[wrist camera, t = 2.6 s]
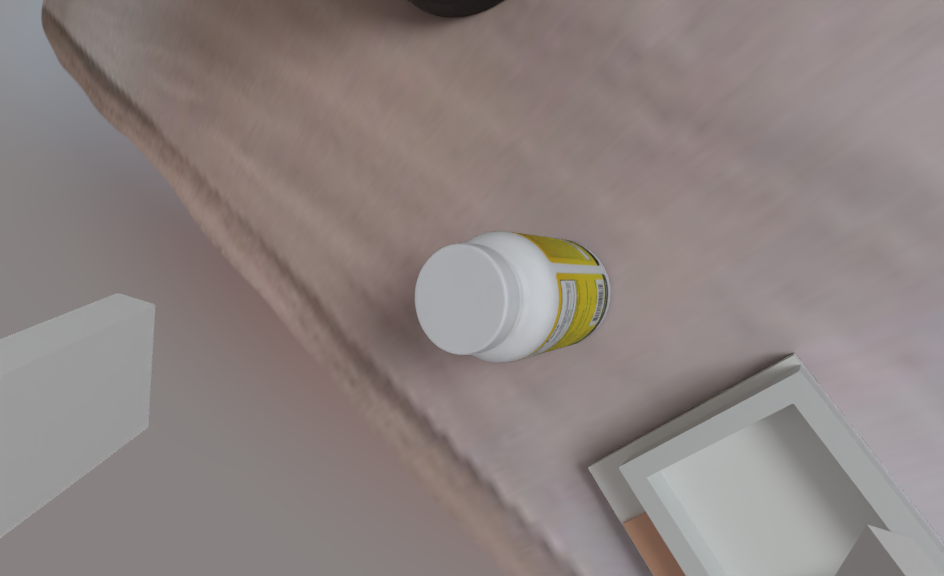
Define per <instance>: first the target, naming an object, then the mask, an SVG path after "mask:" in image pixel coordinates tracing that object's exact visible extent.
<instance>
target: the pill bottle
mask: <svg viewBox="0 0 944 576" xmlns="http://www.w3.org/2000/svg"><path fill="white" fill-rule="evenodd" d="M610 295H611V293H610V283H609V278H608V275H607V272H606V270H605V268H604V266H603V264H602V263H601V261H600V260H599V259H598V258H597V256H596V255H595V254H594V253H593V252H591V251H590V250H589V249H588V248H586V247H584V246H583V245H581V244H578V243H576V242H572V241H568V240H563V239H556V238H549V237H541V236H534V235H527V234H521V233H514V232H506V231H494V232H487V233H483V234H480V235H477V236H474V237H472V238H470V239H469V240H467V241H466V242H464V243H461V244H453V245H448V246H446V247H443V248H441V249H440V250H438V251H436V252H435V253H434V254H433V255H432V256H430V258H429V259H428V260H427V261H426V263H425V264H424V265H423V267H422V269H421V271H420V273H419V276H418V279H417V282H416V287H415V308H416V313H417V317H418V320H419V323H420V325H421V327H422V329H423V331H424V332H425V334H426V335H427V337H428V338H429V339H430V340H431V341H432V342H433V343H434V344H435V345H436V346H437V347H439V348H440V349H442V350H444V351H446V352H449V353H452V354H456V355H469V354H470V355H472V356H473V357H475V358H478V359H480V360H483V361H487V362H494V363H504V362H513V361H517V360H520V359H524V358H527V357H530V356H534V355H538V354H541V353H545V352H548V351H552V350H555V349H558V348H562V347H565V346H569V345H572V344H576V343H578V342H580V341H582V340H584V339H586V338H587V337H589V336H590V335H591V334H593V333H594V332H595V331H596V330H597V329H598V327H599V326H600V325H601V323H602V322H603V320H604V319H605V316H606V314H607V311H608V308H609V304H610Z"/></svg>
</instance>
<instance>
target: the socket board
mask: <svg viewBox="0 0 944 576" xmlns="http://www.w3.org/2000/svg"><path fill="white" fill-rule="evenodd" d="M588 469H589V471H590V472H591V474H592V476H593V477H594V479H595V481H596V482H597V484H598V486H599V487H600V489H601V491H602V492H603V494H604V496H605V497H606V499H607V501H608V502H609V504H610V505H611V507H612V509H613V510H614V512H615V514H616V515H617V517H618V519H619V520H620V522H621V524H622V525H623V527H624V529H625V530H626V532H627V534H628V535H629V537H630V538H631V540H632V542H633V543H634V545H635V547H636V548H637V550H638V552H639V553H640V555H641V557H642V558H643V560H644V562H645V563H646V565H647V567H648V568H649V570H650V571H651V573H652V575H653V576H835V575H836V573H837V571H838V570H839V568H840V567H841V565H842V563H843V562H844V560H845V559H846V557H847V555H848V554H849V552H850V551H851V549H852V548H853V546H854V544H855V543H856V541H857V540H858V538H859V536H860V535H861V533H862V532H863V530H864V528H865V527H866V525H870V526H874V527H877V528H880V529H883V530H887V531H890V532H893V533H896V534H900V535H903V536H906V537H909V538H912V539H914V540H915V542H916V543H917V544H918V545H919V546H920V548H921V549H922V550H923V551H924V552H925V554H926V555H927V556H928V557H929V558H930V560H931V561H932V562H933V563H934V564H935V566H936V567H937V568H938V569H939V570H940V572H941V573H942V574H943V575H944V542H943V541H942V540H941V539H940V537H939V536H938V535H937V534H936V532H935V531H934V530H933V528H932V527H931V526H930V525H929V523H928V522H927V521H926V520H925V518H924V517H923V516H922V514H921V513H920V512H919V511H918V509H917V508H916V507H915V506H914V504H913V503H912V502H911V500H910V499H909V498H908V497H907V495H906V494H905V493H904V492H903V490H902V489H901V488H900V487H899V485H898V484H897V483H896V481H895V480H894V479H893V478H892V476H891V475H890V474H889V473H888V471H887V470H886V469H885V467H884V466H883V465H882V464H881V462H880V461H879V460H878V459H877V457H876V456H875V455H874V453H873V452H872V451H871V450H870V448H869V447H868V446H867V445H866V443H865V442H864V441H863V439H862V438H861V437H860V436H859V434H858V433H857V432H856V431H855V429H854V428H853V427H852V425H851V424H850V423H849V422H848V420H847V419H846V418H845V417H844V415H843V414H842V413H841V411H840V410H839V409H838V408H837V406H836V405H835V404H834V403H833V401H832V400H831V399H830V397H829V396H828V395H827V394H826V392H825V391H824V390H823V389H822V387H821V386H820V385H819V383H818V382H817V381H816V380H815V378H814V377H813V376H812V375H811V373H810V372H809V371H808V369H807V368H806V367H805V366H804V364H803V363H802V362H801V361H800V359H799V358H798V357H797V355H796V354H795V353H793V354H791V355H789V356H787V357H786V358H784V359H782V360H780V361H778V362H777V363H775V364H773V365H771V366H769V367H767V368H766V369H764V370H762V371H760V372H758V373H757V374H755V375H753V376H751V377H749V378H747V379H746V380H744V381H742V382H740V383H738V384H736V385H735V386H733V387H731V388H729V389H727V390H726V391H724V392H722V393H720V394H718V395H716V396H715V397H713V398H711V399H709V400H707V401H706V402H704V403H702V404H700V405H698V406H696V407H695V408H693V409H691V410H689V411H687V412H686V413H684V414H682V415H680V416H678V417H676V418H675V419H673V420H671V421H669V422H667V423H666V424H664V425H662V426H660V427H658V428H656V429H655V430H653V431H651V432H649V433H647V434H645V435H644V436H642V437H640V438H638V439H636V440H635V441H633V442H631V443H629V444H627V445H625V446H624V447H622V448H620V449H618V450H616V451H615V452H613V453H611V454H609V455H607V456H605V457H604V458H602V459H600V460H598V461H596V462H595V463H593V464H592V465H591V466H590V467H588Z"/></svg>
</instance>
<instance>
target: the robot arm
mask: <svg viewBox="0 0 944 576" xmlns="http://www.w3.org/2000/svg"><path fill="white" fill-rule="evenodd" d="M408 1H410V2H411V3H412V4H414V5H415V6H417V7H418V8H420V9H422V10H423V11H426V12H428V13H431V14H434V15H438V16H445V17H458V16H465V15H470V14H474V13H477V12H480V11H482V10H485V9H487V8H489V7H491V6H493V5H495V4H497V3H499V2H501V1H502V0H408ZM154 315H155V304H152V303H148V302H145V301H142V300H139V299H135V298H132V297H129V296H126V295H122V294H119V293H116V294H114V295H111V296H109V297H106V298H104V299H102V300H99V301H96V302H94V303H91V304H89V305H86V306H83V307H81V308H78V309H76V310H73V311H71V312H68V313H66V314H63V315H61V316H58V317H56V318H53V319H51V320H49V321H46V322H43V323H40V324H38V325H35V326H33V327H30V328H28V329H25V330H23V331H20V332H18V333H15V334H13V335H10V336H7V337H5V338H2V339H0V538H1V537H2V536H4V535H5V534H6V533H8V532H9V531H10V530H12V529H13V528H14V527H15V526H17V525H18V524H20V523H21V522H22V521H24V520H25V519H26V518H28V517H29V516H30V515H32V514H33V513H34V512H36V511H37V510H38V509H40V508H41V507H42V506H44V505H45V504H46V503H48V502H49V501H50V500H52V499H53V498H54V497H56V496H57V495H58V494H60V493H61V492H62V491H64V490H65V489H66V488H68V487H69V486H70V485H72V484H73V483H75V482H76V481H77V480H78V479H80V478H81V477H82V476H84V475H85V474H87V473H88V472H89V471H91V470H92V469H93V468H95V467H96V466H97V465H99V464H100V463H101V462H103V461H104V460H105V459H106V458H108V457H109V456H111V455H112V454H113V453H115V452H116V451H117V450H119V449H120V448H121V447H123V446H124V445H125V444H126V443H128V442H129V441H131V440H132V439H133V438H135V437H136V436H137V435H139V434H140V433H141V432H142V431H144V430H145V429H147V428H148V423H149V422H148V421H149V405H150V387H151V369H152V352H153V334H154ZM835 576H944V575H943V574H942V573H941V572H940V570H939V569H938V568H937V567H936V566H935V564H934V563H933V562H932V561H931V560H930V558H929V557H928V556H927V555H926V554H925V552H924V551H923V550H922V549H921V548H920V546H919V545H918V544H917V543H916V542H915V540H914V539H912V538H909V537H906V536H903V535H900V534H896V533H893V532H890V531H887V530H883V529H880V528H877V527H874V526H870V525H866V527H865V528H864V530H863V532H862V533H861V535H860V536H859V538H858V540H857V541H856V543H855V544H854V546H853V548H852V549H851V551H850V552H849V554H848V555H847V557H846V559H845V560H844V562H843V563H842V565H841V567H840V568H839V570H838V571H837V573H836V575H835Z"/></svg>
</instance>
